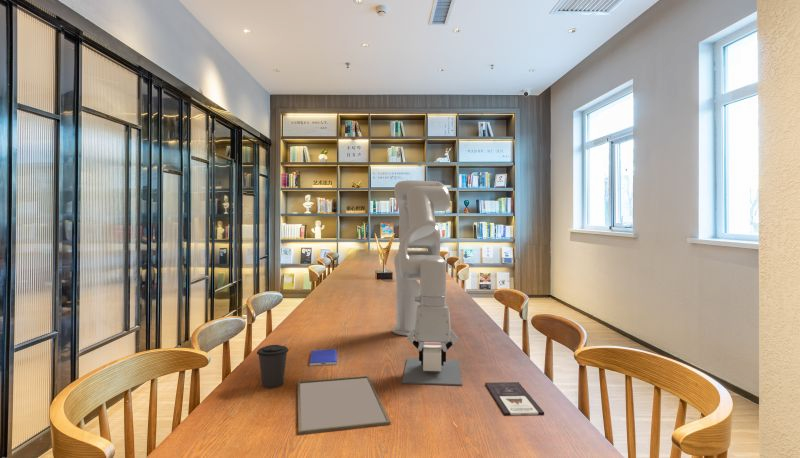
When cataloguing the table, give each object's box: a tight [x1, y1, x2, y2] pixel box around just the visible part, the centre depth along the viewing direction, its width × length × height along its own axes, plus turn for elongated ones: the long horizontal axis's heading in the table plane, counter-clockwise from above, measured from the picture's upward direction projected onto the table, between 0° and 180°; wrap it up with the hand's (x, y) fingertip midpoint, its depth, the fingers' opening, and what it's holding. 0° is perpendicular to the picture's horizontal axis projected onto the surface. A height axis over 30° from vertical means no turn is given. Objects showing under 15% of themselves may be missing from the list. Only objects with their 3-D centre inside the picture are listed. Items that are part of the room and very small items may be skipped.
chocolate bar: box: [484, 381, 545, 416], centre depth 106 cm, size 9×1×18 cm
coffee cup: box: [256, 344, 289, 389], centre depth 114 cm, size 8×8×10 cm
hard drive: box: [309, 348, 338, 367], centre depth 136 cm, size 2×8×12 cm
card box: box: [423, 342, 442, 371], centre depth 125 cm, size 10×5×5 cm, turn 175°
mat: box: [401, 357, 463, 387], centre depth 125 cm, size 20×16×1 cm
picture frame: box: [297, 375, 391, 435], centre depth 104 cm, size 19×1×28 cm
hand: (432, 363), depth 125 cm, fingers closed on card box, 5 cm apart
